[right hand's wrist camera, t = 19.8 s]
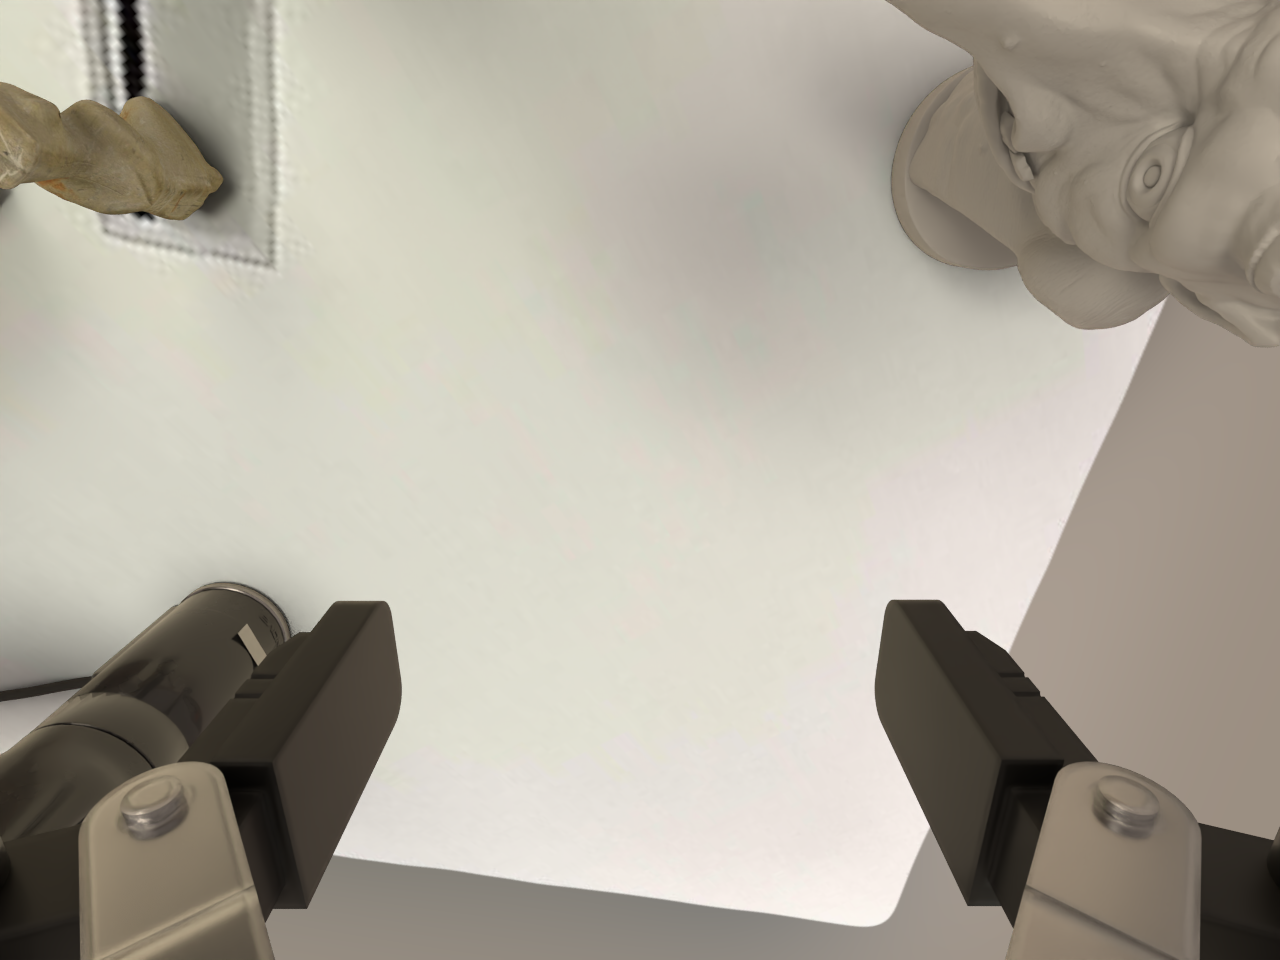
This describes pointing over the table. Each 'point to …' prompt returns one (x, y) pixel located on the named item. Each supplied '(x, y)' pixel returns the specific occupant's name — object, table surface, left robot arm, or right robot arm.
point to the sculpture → (103, 155)
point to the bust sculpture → (1105, 155)
